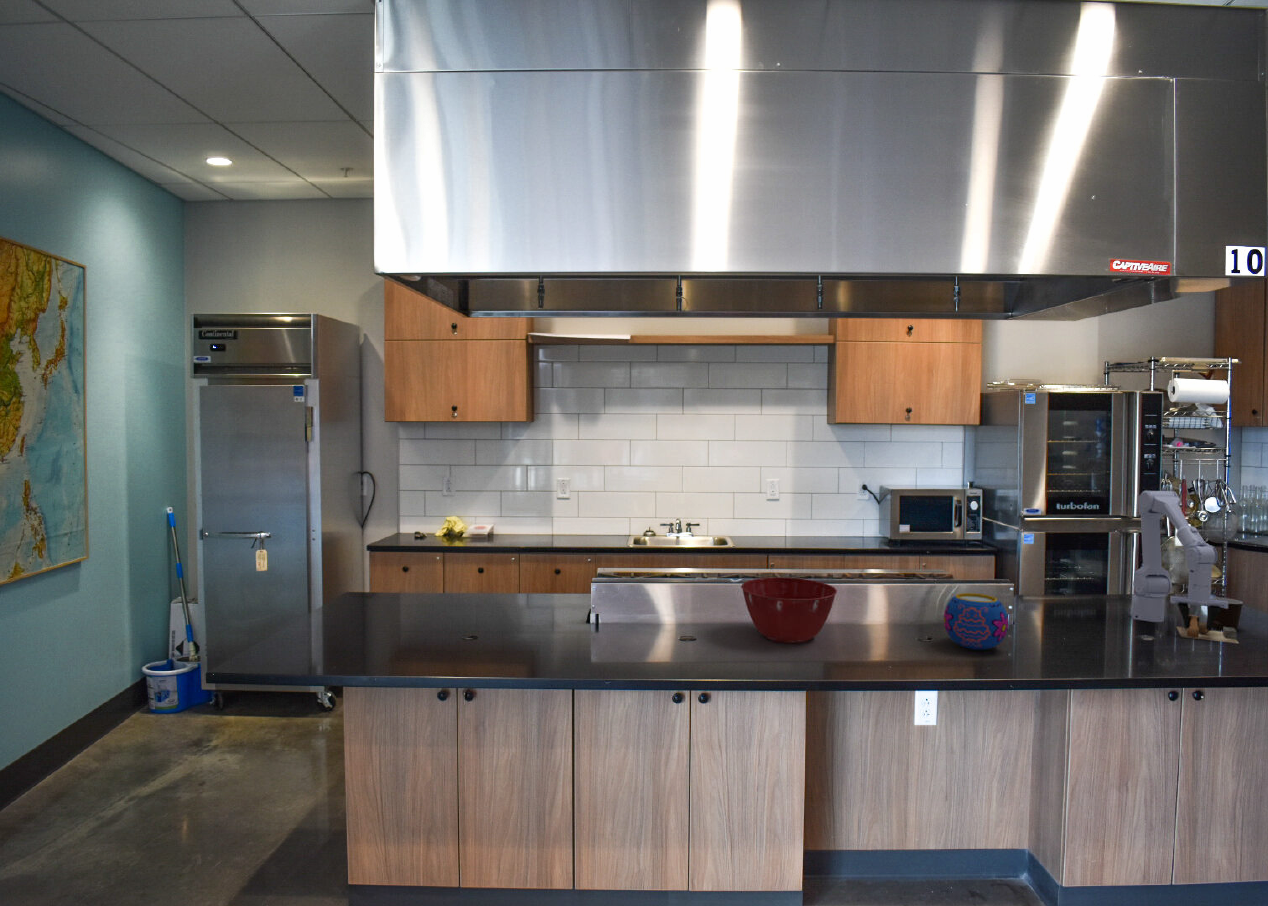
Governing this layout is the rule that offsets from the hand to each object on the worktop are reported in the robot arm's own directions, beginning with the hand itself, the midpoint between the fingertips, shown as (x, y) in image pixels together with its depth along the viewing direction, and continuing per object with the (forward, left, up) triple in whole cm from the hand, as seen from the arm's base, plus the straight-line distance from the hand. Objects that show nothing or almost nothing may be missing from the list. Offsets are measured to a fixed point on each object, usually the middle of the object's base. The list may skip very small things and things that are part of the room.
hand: (1197, 628), depth 251 cm
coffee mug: (+9, +19, -4) cm, 21 cm away
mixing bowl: (-110, -62, -4) cm, 126 cm away
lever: (-1, +5, -2) cm, 6 cm away
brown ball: (+2, +6, -3) cm, 7 cm away
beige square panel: (+3, +5, -4) cm, 7 cm away
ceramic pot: (-59, -44, -4) cm, 74 cm away
